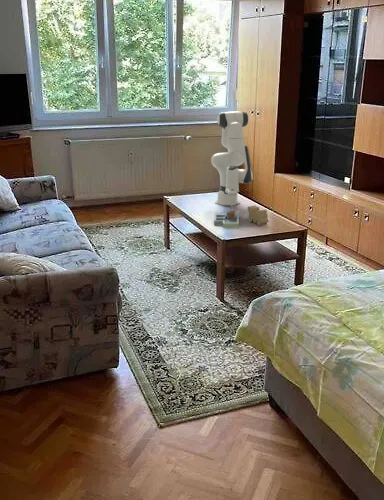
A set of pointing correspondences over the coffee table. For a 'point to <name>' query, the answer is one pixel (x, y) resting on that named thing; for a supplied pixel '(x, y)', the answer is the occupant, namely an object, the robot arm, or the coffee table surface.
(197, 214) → the coffee table surface
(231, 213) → the block
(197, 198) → the coffee table surface
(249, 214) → the toy train
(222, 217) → the trap lane
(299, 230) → the coffee table surface
